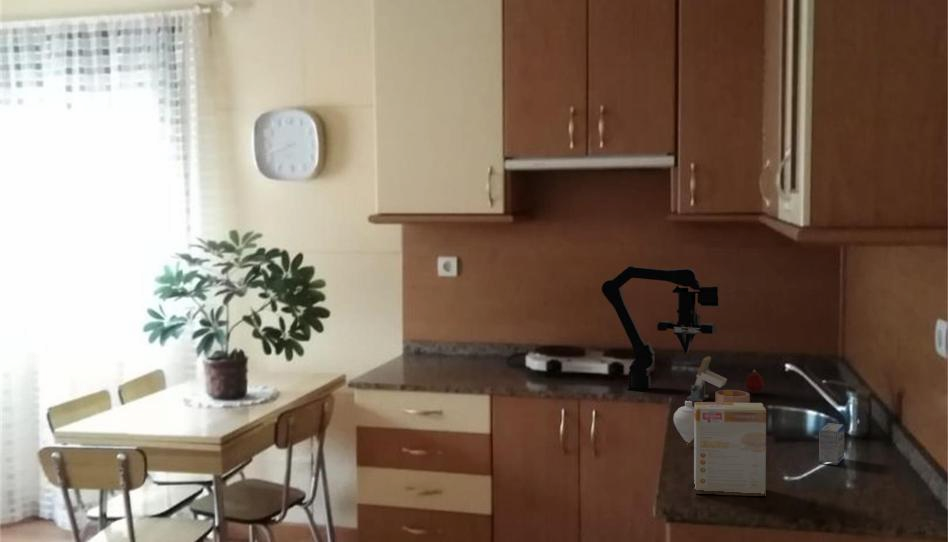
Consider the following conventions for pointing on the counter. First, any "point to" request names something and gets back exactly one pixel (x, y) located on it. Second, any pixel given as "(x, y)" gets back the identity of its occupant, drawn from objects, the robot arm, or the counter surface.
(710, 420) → the coffeecake box
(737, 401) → the pinkish brown round bowl
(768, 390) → the counter surface
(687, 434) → the spinning top
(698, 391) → the stand
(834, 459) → the medicine box
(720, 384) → the lever chute
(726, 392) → the ball
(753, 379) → the onion
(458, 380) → the counter surface
